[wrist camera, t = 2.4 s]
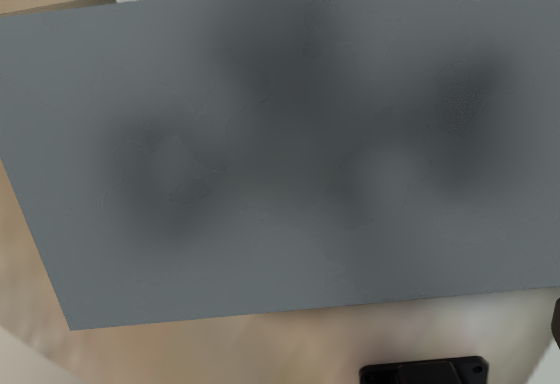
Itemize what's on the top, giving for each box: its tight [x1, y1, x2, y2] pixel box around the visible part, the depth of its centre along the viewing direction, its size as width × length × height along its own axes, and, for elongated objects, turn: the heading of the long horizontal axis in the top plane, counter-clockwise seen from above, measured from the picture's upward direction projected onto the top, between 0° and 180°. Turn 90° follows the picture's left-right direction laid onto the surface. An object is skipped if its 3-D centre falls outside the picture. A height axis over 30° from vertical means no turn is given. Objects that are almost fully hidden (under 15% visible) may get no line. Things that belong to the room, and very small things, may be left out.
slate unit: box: [0, 0, 560, 331], centre depth 14 cm, size 9×20×8 cm, turn 96°
